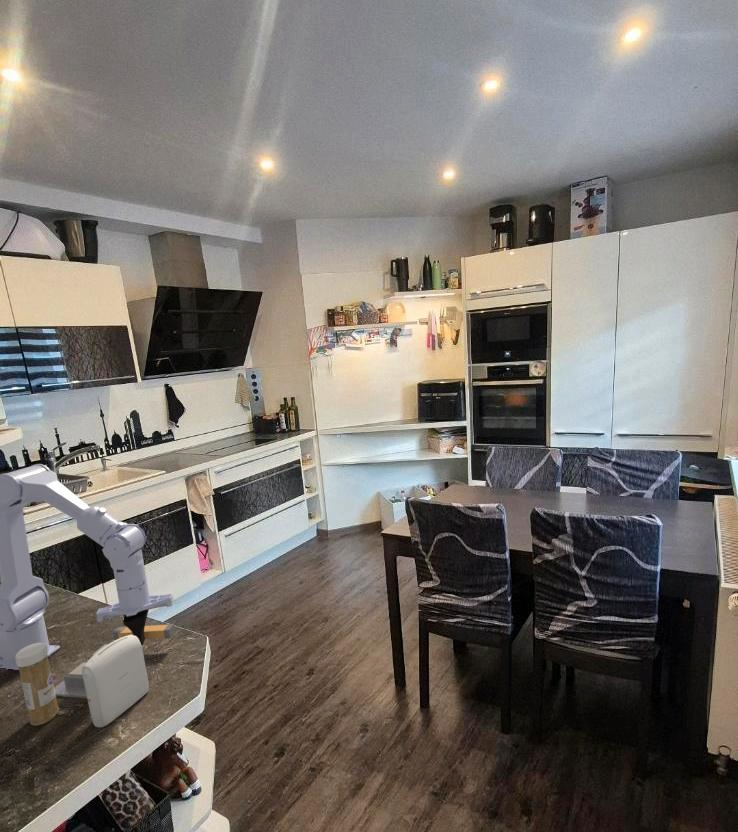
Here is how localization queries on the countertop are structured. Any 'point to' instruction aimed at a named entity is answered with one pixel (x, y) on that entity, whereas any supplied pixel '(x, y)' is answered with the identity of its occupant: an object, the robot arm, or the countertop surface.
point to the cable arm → (147, 632)
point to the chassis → (75, 681)
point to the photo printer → (115, 679)
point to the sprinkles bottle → (37, 683)
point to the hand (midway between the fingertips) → (141, 643)
